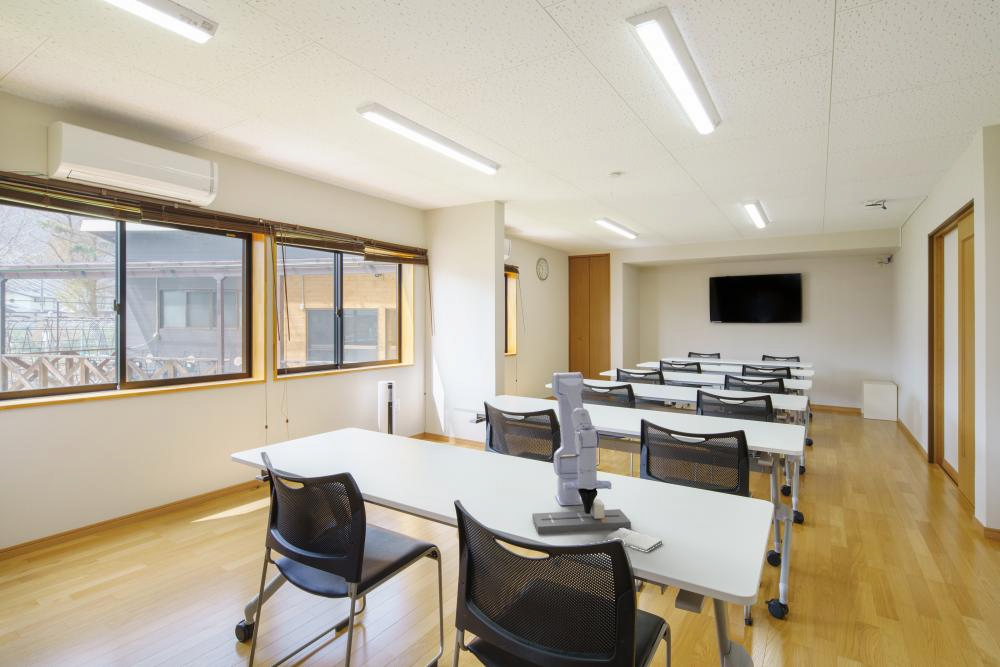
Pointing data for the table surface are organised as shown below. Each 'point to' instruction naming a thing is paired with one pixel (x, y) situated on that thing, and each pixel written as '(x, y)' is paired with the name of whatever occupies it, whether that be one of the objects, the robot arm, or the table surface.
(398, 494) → the table surface
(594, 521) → the console
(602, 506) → the fader tab
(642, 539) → the external hard drive
